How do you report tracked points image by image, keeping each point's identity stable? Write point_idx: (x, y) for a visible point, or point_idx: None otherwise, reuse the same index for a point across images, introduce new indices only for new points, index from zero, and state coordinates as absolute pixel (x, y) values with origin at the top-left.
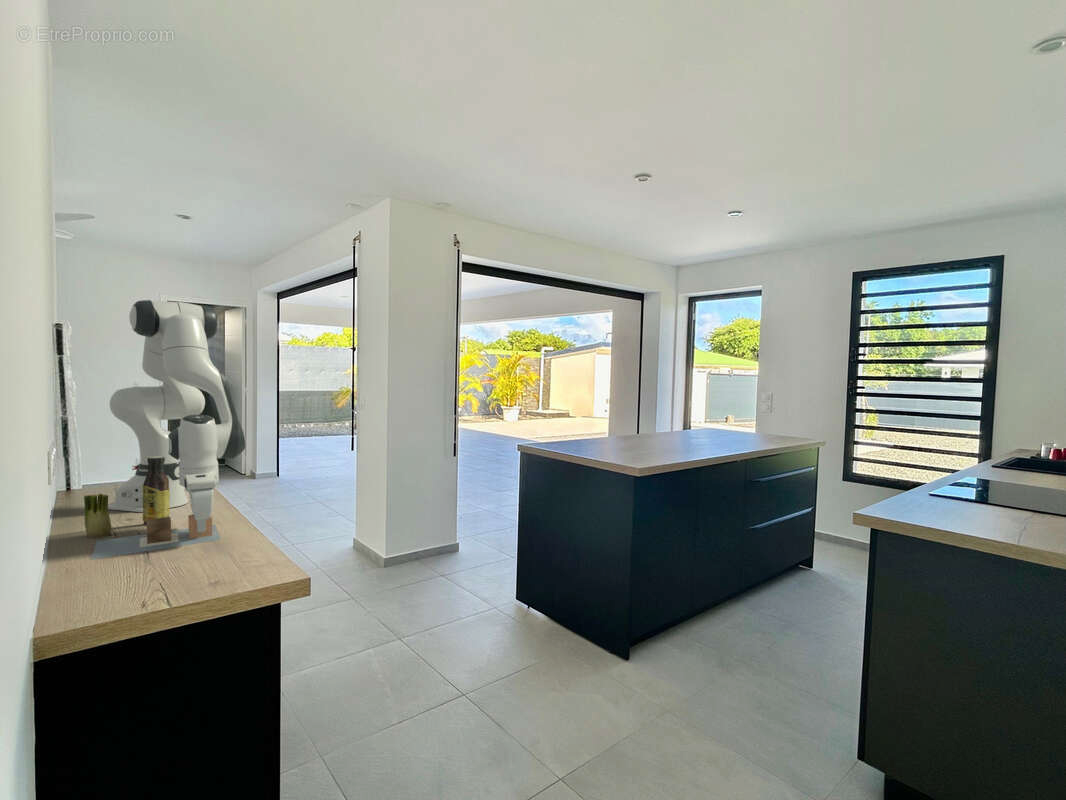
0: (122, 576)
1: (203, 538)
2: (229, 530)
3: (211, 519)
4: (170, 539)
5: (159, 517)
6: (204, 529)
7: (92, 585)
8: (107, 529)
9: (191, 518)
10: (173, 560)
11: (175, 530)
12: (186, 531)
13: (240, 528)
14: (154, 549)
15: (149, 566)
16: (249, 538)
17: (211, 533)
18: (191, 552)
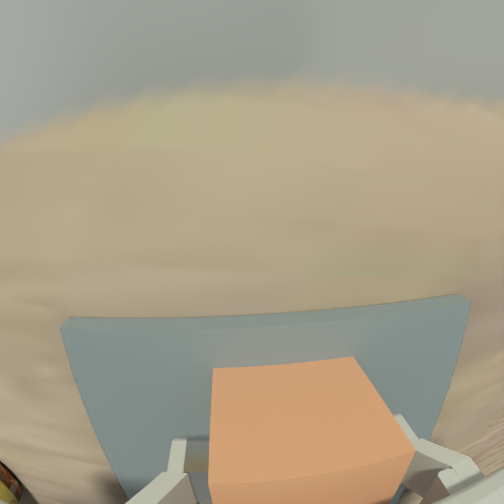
0: (495, 470)
1: (385, 392)
2: (164, 230)
3: (402, 435)
4: None
5: (1, 498)
6: (403, 422)
7: None
8: None
9: None
10: (495, 419)
11: (123, 485)
12: (164, 463)
13: (146, 147)
14: (397, 499)
15: (487, 454)
16: (450, 136)
17: (358, 367)
18: (473, 394)
